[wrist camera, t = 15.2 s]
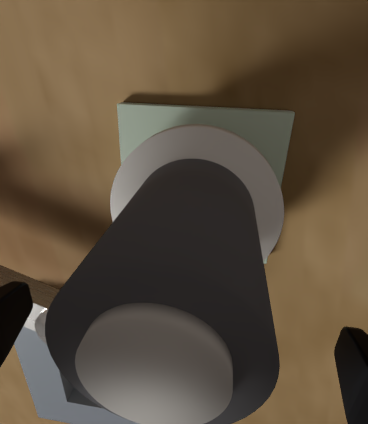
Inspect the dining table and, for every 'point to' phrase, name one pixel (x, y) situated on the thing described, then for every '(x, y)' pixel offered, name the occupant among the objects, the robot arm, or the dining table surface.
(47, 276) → the dining table surface
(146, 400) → the plug
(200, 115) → the pad
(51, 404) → the socket block
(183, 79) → the dining table surface
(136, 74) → the dining table surface
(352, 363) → the robot arm
